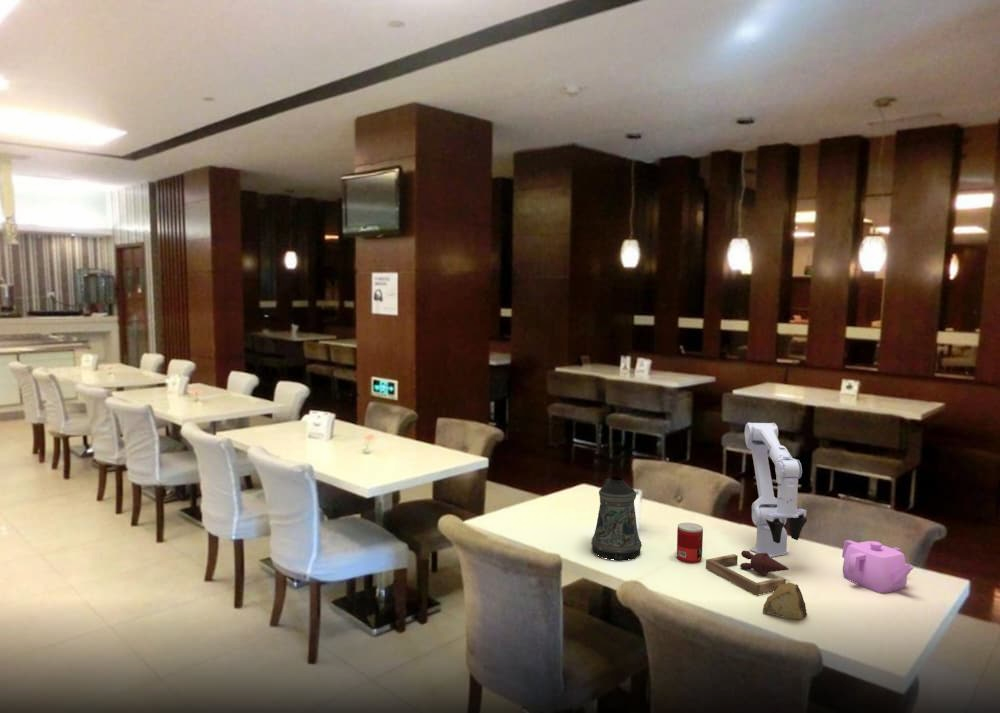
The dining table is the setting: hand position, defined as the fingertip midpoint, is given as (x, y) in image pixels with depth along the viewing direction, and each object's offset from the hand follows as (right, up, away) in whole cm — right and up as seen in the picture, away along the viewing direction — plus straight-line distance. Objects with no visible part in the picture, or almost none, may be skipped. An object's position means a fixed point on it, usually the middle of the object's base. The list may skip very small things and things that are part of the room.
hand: (785, 540), depth 212 cm
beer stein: (-52, -8, +16) cm, 55 cm away
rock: (-13, -12, -29) cm, 34 cm away
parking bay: (-14, -10, -6) cm, 18 cm away
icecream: (-8, -10, -2) cm, 13 cm away
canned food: (-28, -9, +9) cm, 30 cm away
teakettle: (+24, -11, -8) cm, 27 cm away
